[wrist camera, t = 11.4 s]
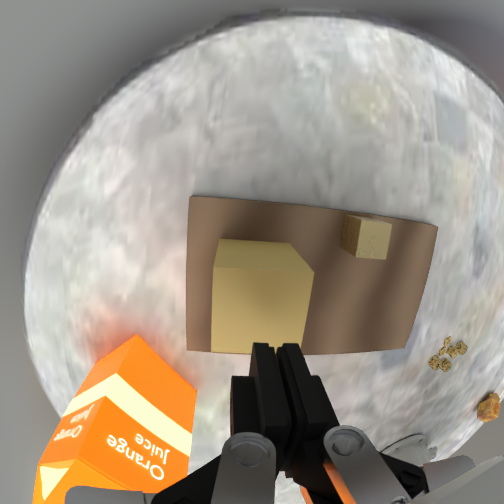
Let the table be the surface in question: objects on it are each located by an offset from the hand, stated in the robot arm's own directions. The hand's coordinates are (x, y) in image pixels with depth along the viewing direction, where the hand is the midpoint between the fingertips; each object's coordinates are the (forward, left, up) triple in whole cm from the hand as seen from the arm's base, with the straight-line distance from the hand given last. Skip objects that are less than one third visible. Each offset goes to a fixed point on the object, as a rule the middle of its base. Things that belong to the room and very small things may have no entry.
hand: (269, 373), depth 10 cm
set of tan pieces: (-27, +11, -14) cm, 32 cm away
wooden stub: (-8, -4, -12) cm, 15 cm away
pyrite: (-52, +28, -13) cm, 60 cm away
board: (-6, +1, -13) cm, 14 cm away
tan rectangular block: (0, 0, -12) cm, 12 cm away
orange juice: (+10, +13, -13) cm, 21 cm away
